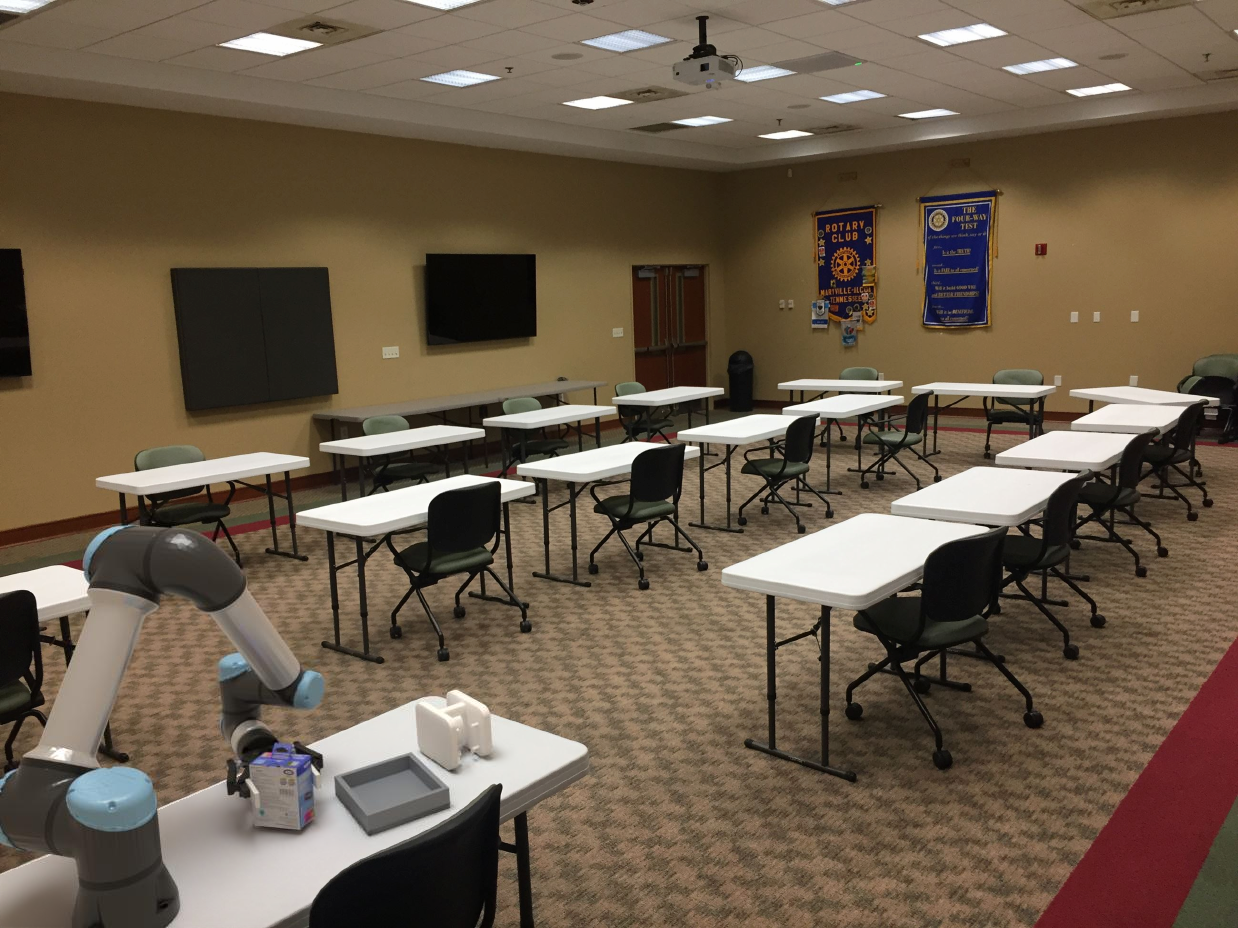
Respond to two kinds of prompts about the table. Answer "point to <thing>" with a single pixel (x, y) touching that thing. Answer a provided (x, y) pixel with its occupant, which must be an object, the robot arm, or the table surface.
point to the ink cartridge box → (283, 789)
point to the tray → (391, 793)
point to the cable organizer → (453, 729)
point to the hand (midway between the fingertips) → (288, 790)
